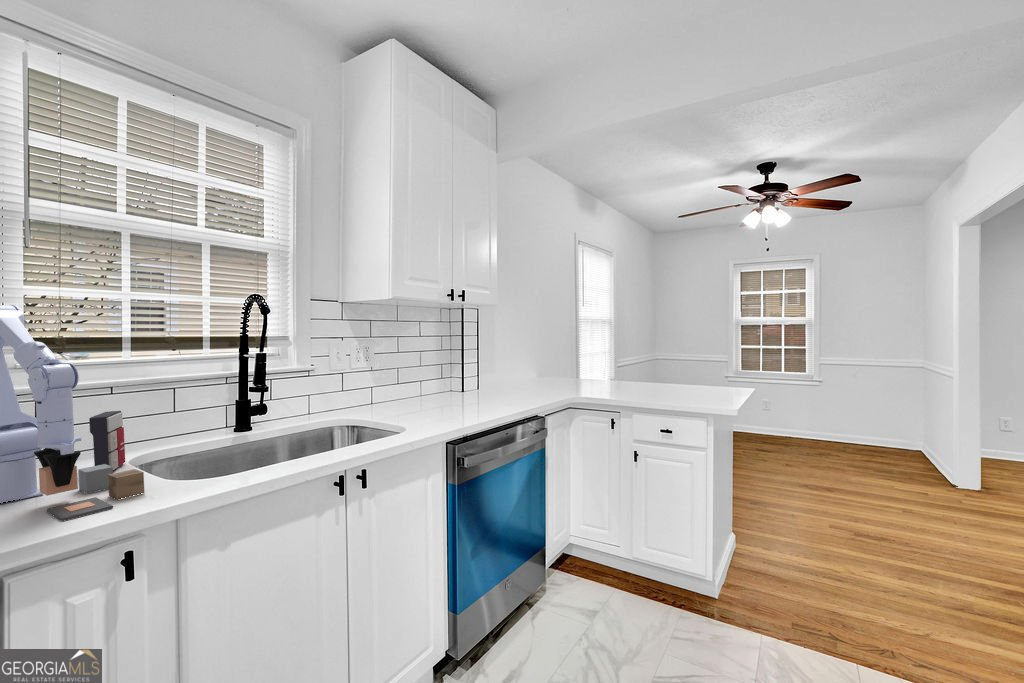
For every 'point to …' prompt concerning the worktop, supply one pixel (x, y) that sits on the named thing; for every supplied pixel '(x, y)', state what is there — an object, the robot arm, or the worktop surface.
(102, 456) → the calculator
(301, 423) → the worktop surface
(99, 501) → the board
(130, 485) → the walnut block
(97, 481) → the slate block
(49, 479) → the terracotta block
